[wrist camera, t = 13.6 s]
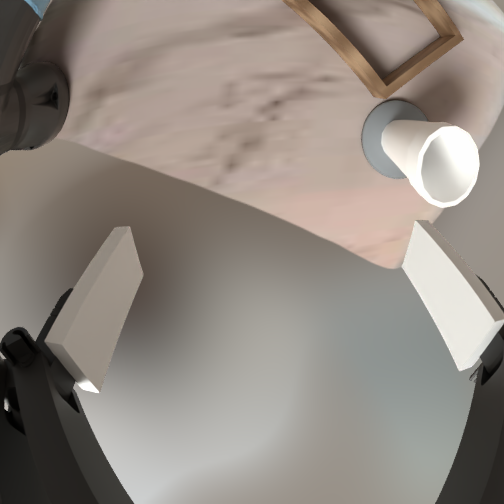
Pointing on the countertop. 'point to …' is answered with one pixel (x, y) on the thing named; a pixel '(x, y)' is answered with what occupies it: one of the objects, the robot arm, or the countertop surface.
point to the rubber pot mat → (375, 128)
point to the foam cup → (433, 158)
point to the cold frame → (357, 61)
